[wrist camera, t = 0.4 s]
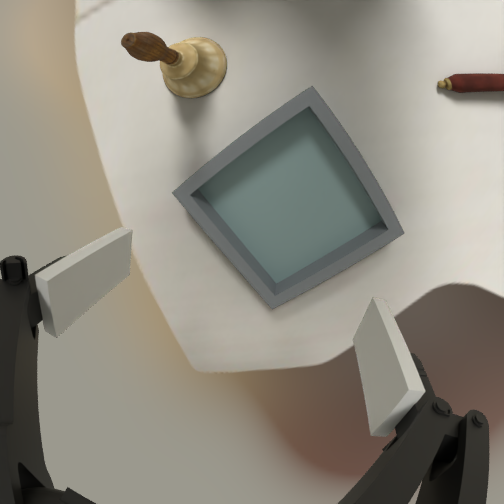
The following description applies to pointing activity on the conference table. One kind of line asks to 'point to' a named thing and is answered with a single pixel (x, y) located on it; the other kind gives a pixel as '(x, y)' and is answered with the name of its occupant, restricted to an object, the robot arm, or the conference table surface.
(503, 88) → the gavel
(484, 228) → the conference table surface
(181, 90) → the hand bell
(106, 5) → the conference table surface
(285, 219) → the box
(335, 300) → the conference table surface
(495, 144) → the conference table surface
